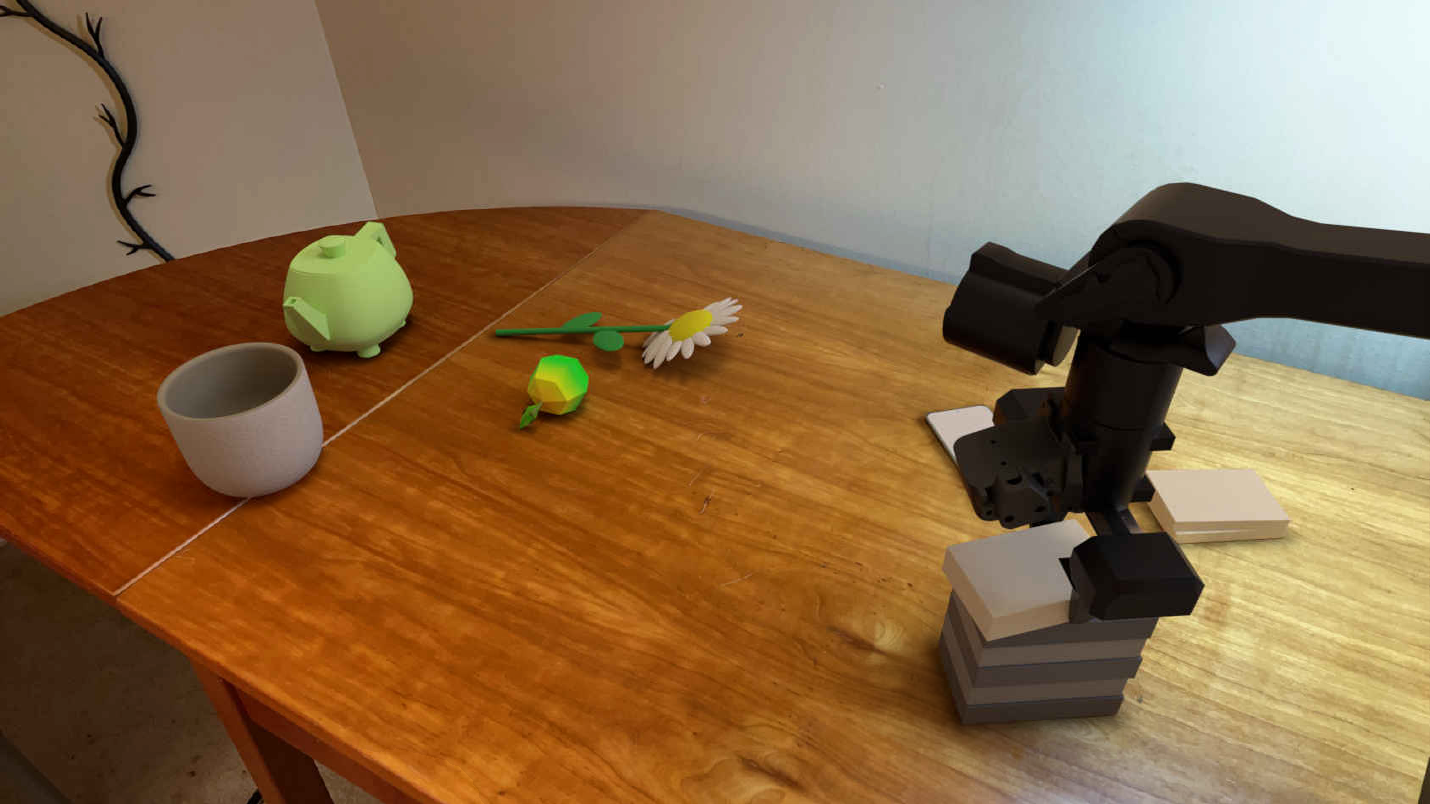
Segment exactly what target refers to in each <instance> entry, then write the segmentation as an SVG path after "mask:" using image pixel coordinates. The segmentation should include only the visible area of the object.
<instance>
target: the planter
mask: <svg viewBox="0 0 1430 804" xmlns="http://www.w3.org/2000/svg"><path fill="white" fill-rule="evenodd" d="M156 404H157V406H158V409H159V411H160V413H161V415H162V418H163V419H164V421H165V424H166V425H167V427H168V429H169V430H170V433H171V435H172V437H173V439H174V441H175V443H176V445H177V447H178V449H179V451H180V453H181V455H182V456H183V458H184V460H185V462H186V464H187V465H188V467H189V468H190V470H191V471H192V472H193V474H194V475H195V477H197V479H198V480H200V481H201V482H202V483H203V484H204V485H205V486H207V487H208V488H209V489H211V490H214V491H215V492H218V493H220V494H222V495H226V496H229V497H235V498H256V497H262V496H263V497H264V496H267V495H271V494H274V493H277V492H280V491H282V490H284V489H287V488H288V487H290V486H292V485H294V484H296V483H297V482H299V481H300V480H301V479H303V478H304V477H305V476H306V475H307V474H308V473H309V472H310V471H311V469H312V468H313V467H314V466H315V465H316V463H317V461H318V460H319V457H320V456H321V452H322V449H323V443H324V427H323V421H322V416H321V413H320V409H319V406H318V403H317V399H316V396H315V393H314V391H313V387H312V385H311V382H310V379H309V375H308V372H307V369H306V366H305V362H304V360H303V358H302V357H301V355H300V354H299V353H298V352H297V351H295V350H294V349H293V348H290V347H288V346H285V345H282V344H278V343H274V342H263V341H261V342H260V341H258V342H244V343H243V342H241V343H237V344H231V345H226V346H223V347H219V348H216V349H212V350H210V351H207V352H204V353H202V354H200V355H198V356H196V357H193V358H191V359H190V360H187V361H186V362H184V363H183V364H181V365H180V366H178V367H177V368H176V369H174V370H173V371H171V372H170V374H169V375H167V376H166V378H165V379H164V380H163V381H162V382H161V384H160V385H159V387H158V390H157V392H156Z"/></svg>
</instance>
